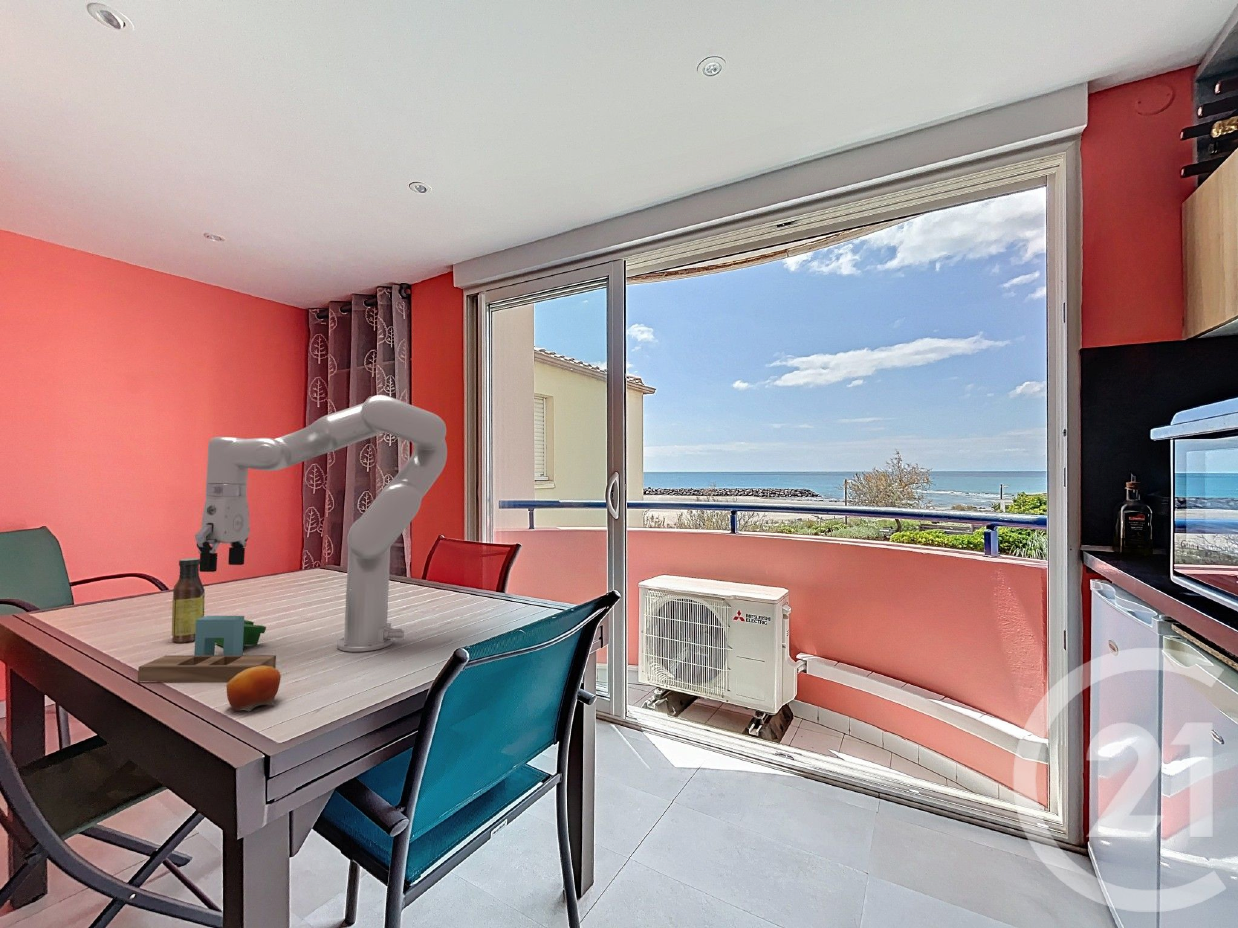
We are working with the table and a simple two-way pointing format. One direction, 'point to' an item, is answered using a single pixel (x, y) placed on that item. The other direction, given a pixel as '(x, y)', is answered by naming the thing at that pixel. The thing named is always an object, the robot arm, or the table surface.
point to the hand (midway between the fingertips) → (222, 567)
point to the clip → (219, 634)
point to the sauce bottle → (187, 601)
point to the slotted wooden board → (201, 667)
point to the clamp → (247, 634)
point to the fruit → (253, 687)
